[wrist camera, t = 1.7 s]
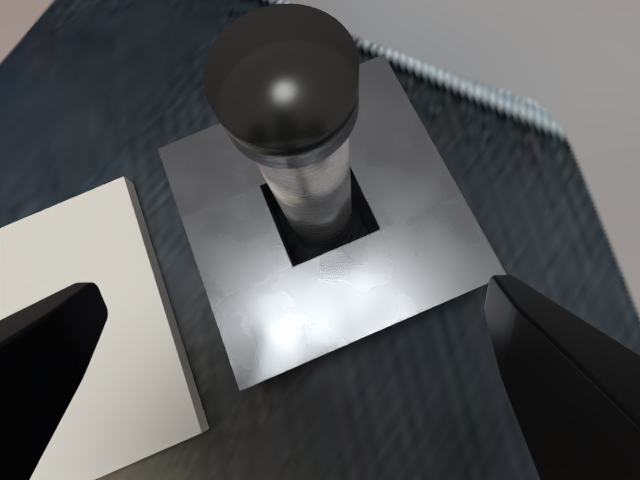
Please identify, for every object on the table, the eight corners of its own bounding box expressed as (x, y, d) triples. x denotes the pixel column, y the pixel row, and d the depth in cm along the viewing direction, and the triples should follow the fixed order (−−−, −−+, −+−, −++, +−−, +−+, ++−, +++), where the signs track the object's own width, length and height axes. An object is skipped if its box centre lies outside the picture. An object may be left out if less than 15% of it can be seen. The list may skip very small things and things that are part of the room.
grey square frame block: (481, 287, 20) (506, 274, 17) (259, 383, 20) (239, 391, 17) (379, 96, 24) (383, 54, 20) (186, 177, 23) (158, 149, 20)
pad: (209, 428, 20) (201, 432, 19) (-63, 547, 20) (-85, 557, 19) (133, 183, 24) (123, 176, 23) (-96, 279, 23) (-116, 276, 22)
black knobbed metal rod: (369, 245, 21) (385, 100, 9) (305, 272, 21) (233, 165, 9) (341, 186, 22) (322, -18, 10) (281, 212, 22) (183, 39, 10)
